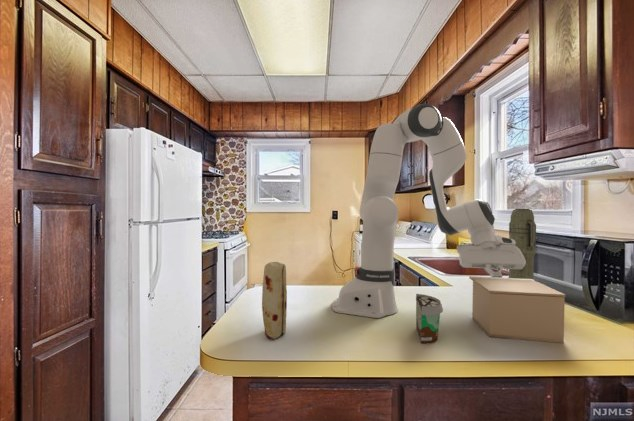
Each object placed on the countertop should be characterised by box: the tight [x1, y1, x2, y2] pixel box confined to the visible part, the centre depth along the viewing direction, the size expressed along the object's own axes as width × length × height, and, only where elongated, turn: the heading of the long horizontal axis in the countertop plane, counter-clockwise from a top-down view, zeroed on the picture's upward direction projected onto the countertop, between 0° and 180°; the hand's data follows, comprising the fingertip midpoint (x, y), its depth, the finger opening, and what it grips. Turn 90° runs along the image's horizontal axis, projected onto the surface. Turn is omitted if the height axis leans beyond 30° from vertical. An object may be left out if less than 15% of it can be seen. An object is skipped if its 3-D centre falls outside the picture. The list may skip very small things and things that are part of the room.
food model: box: [261, 261, 288, 340], centre depth 82 cm, size 10×7×20 cm
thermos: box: [507, 208, 537, 280], centre depth 117 cm, size 9×12×35 cm
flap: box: [469, 275, 567, 298], centre depth 88 cm, size 18×17×1 cm
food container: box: [415, 293, 444, 345], centre depth 82 cm, size 12×6×10 cm, turn 168°
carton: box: [471, 280, 566, 344], centre depth 87 cm, size 18×14×12 cm
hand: (496, 277), depth 99 cm, fingers closed
